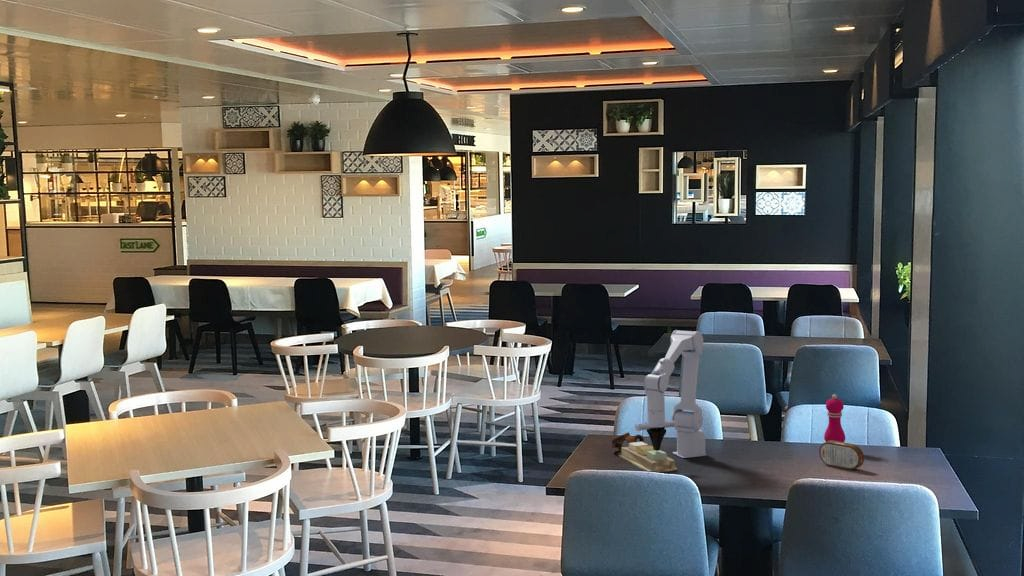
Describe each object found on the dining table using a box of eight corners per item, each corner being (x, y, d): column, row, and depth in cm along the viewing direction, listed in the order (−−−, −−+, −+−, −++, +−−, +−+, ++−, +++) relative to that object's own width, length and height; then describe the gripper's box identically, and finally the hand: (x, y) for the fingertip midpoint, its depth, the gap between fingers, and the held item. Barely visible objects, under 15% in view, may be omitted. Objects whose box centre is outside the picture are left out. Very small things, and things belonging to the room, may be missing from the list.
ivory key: (641, 448, 351) (641, 441, 351) (648, 451, 346) (648, 444, 346) (628, 450, 349) (628, 442, 349) (635, 453, 345) (634, 445, 344)
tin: (864, 470, 326) (864, 444, 325) (859, 472, 324) (859, 446, 323) (822, 462, 337) (822, 438, 336) (817, 464, 335) (817, 439, 334)
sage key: (659, 457, 338) (659, 449, 337) (666, 460, 333) (666, 453, 333) (646, 458, 336) (646, 451, 336) (653, 462, 331) (653, 454, 331)
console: (645, 454, 354) (645, 444, 354) (677, 470, 331) (677, 460, 331) (619, 457, 351) (619, 447, 351) (649, 473, 328) (649, 463, 328)
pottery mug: (625, 459, 350) (614, 437, 352) (615, 465, 359) (604, 444, 361) (652, 446, 355) (642, 425, 357) (642, 452, 364) (631, 432, 366)
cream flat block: (650, 452, 344) (650, 445, 344) (657, 455, 339) (657, 448, 339) (637, 454, 343) (637, 446, 342) (643, 457, 338) (643, 449, 338)
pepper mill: (822, 451, 353) (822, 395, 351) (826, 446, 359) (826, 391, 358) (843, 453, 350) (843, 396, 348) (847, 448, 356) (847, 393, 354)
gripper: (641, 414, 327) (642, 454, 328) (681, 410, 332) (681, 450, 333) (632, 410, 334) (633, 450, 335) (671, 406, 338) (671, 445, 339)
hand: (656, 450), depth 334 cm, fingers closed
